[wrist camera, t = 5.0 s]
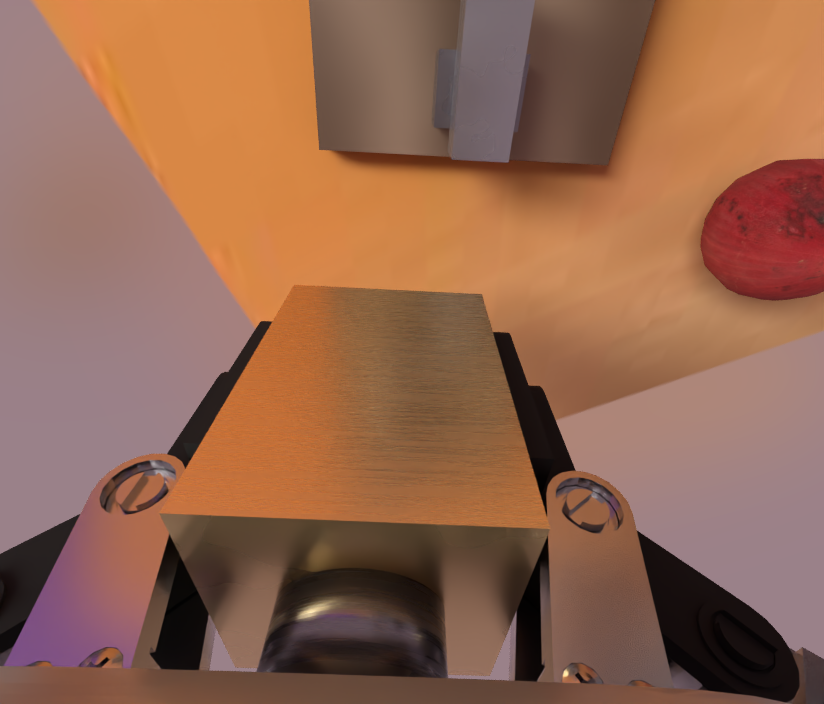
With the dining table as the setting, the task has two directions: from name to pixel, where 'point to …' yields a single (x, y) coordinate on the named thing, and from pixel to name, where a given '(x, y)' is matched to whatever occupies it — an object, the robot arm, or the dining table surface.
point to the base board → (438, 29)
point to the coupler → (364, 492)
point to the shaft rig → (483, 79)
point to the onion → (769, 232)
